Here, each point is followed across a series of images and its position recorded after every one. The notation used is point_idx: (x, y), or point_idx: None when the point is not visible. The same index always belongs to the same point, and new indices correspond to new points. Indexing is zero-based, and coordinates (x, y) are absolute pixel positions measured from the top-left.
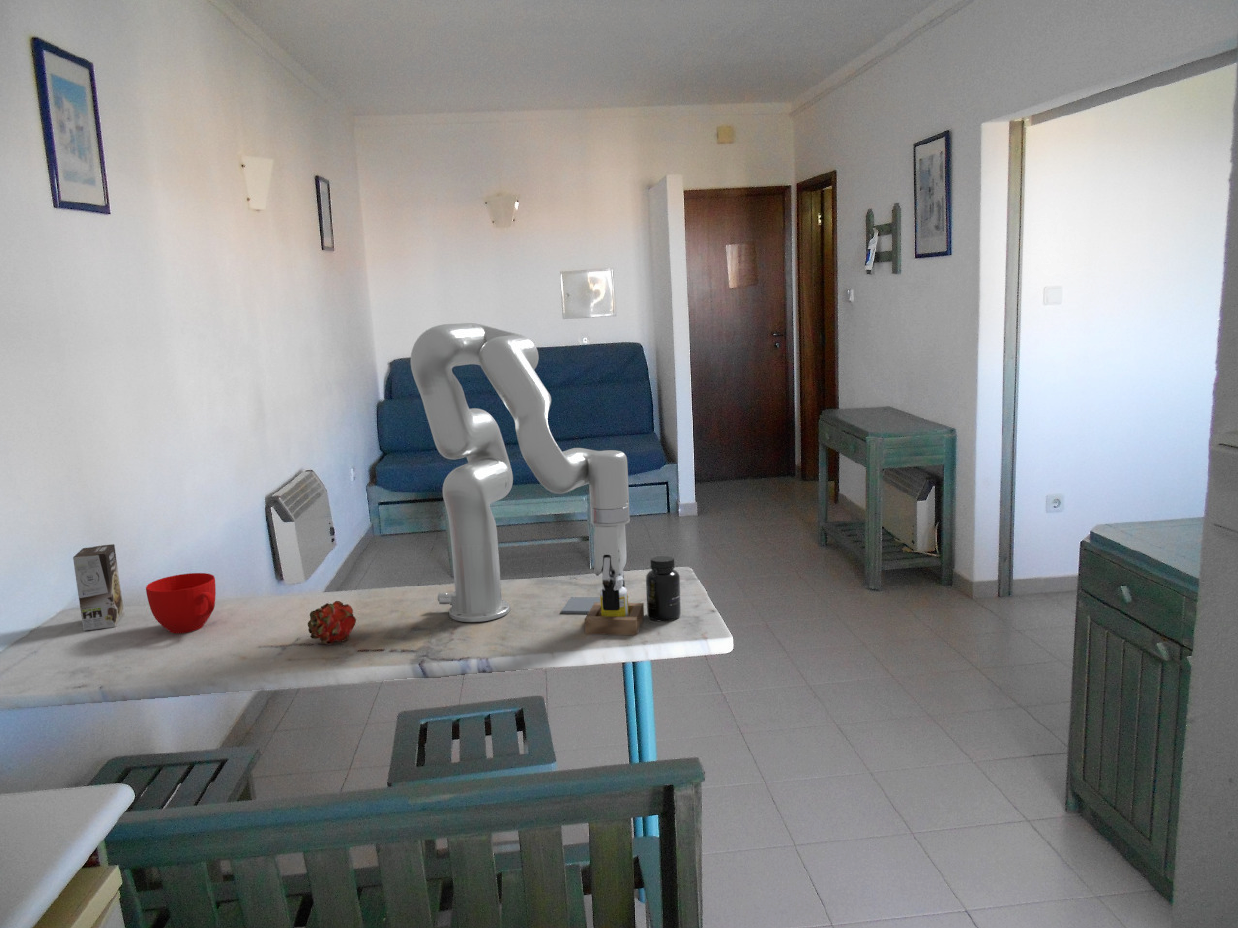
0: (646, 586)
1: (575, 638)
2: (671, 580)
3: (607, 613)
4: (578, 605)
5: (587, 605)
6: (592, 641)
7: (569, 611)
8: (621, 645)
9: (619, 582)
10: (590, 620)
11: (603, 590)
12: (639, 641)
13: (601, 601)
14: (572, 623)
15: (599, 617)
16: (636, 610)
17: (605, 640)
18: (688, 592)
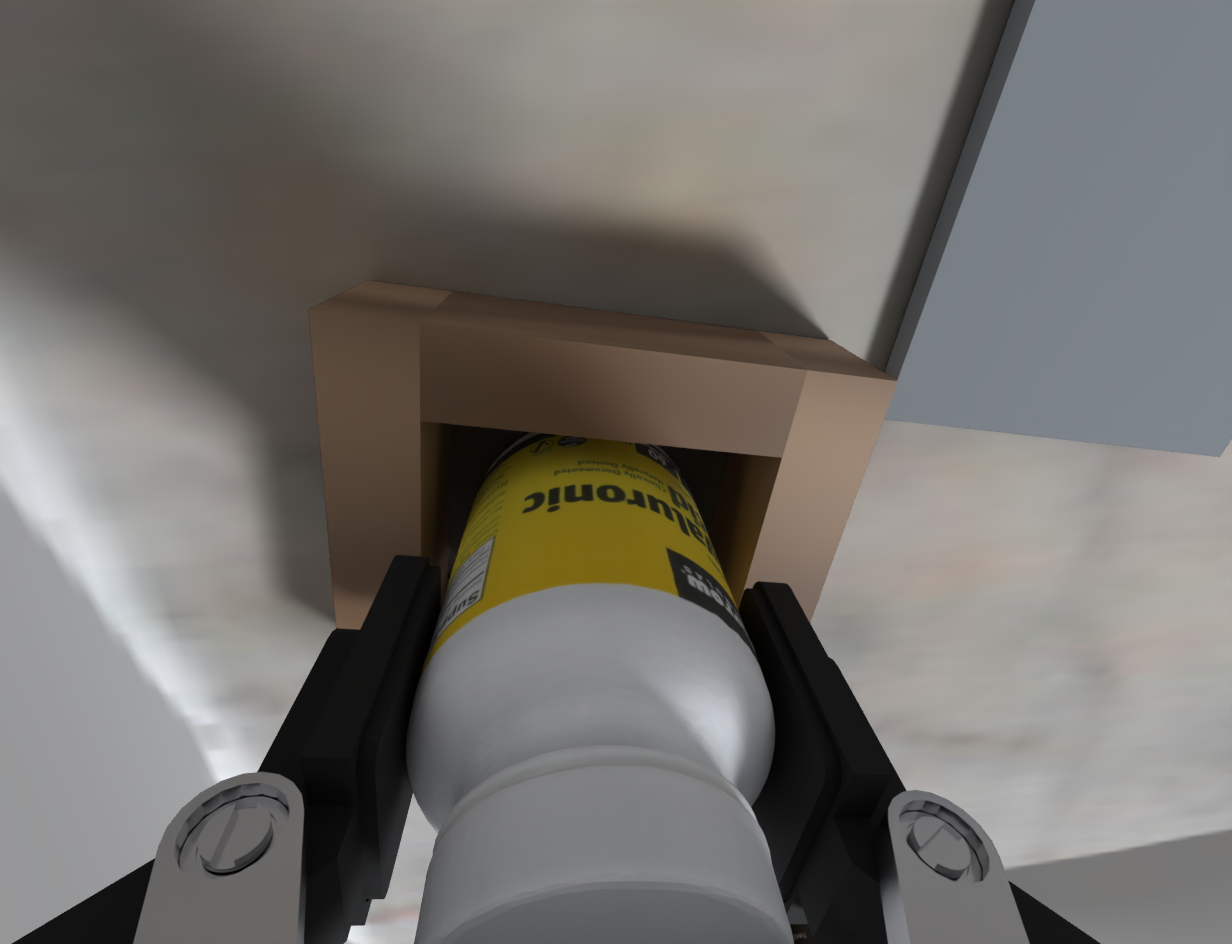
0: (799, 934)
1: (231, 186)
2: None
3: (461, 547)
4: (1154, 140)
5: (1110, 246)
6: (187, 363)
7: (1017, 35)
8: (156, 581)
9: None
10: (321, 375)
11: (209, 800)
12: (264, 674)
13: (505, 560)
14: (678, 109)
15: (384, 470)
16: None
17: (236, 466)
18: (1095, 831)
